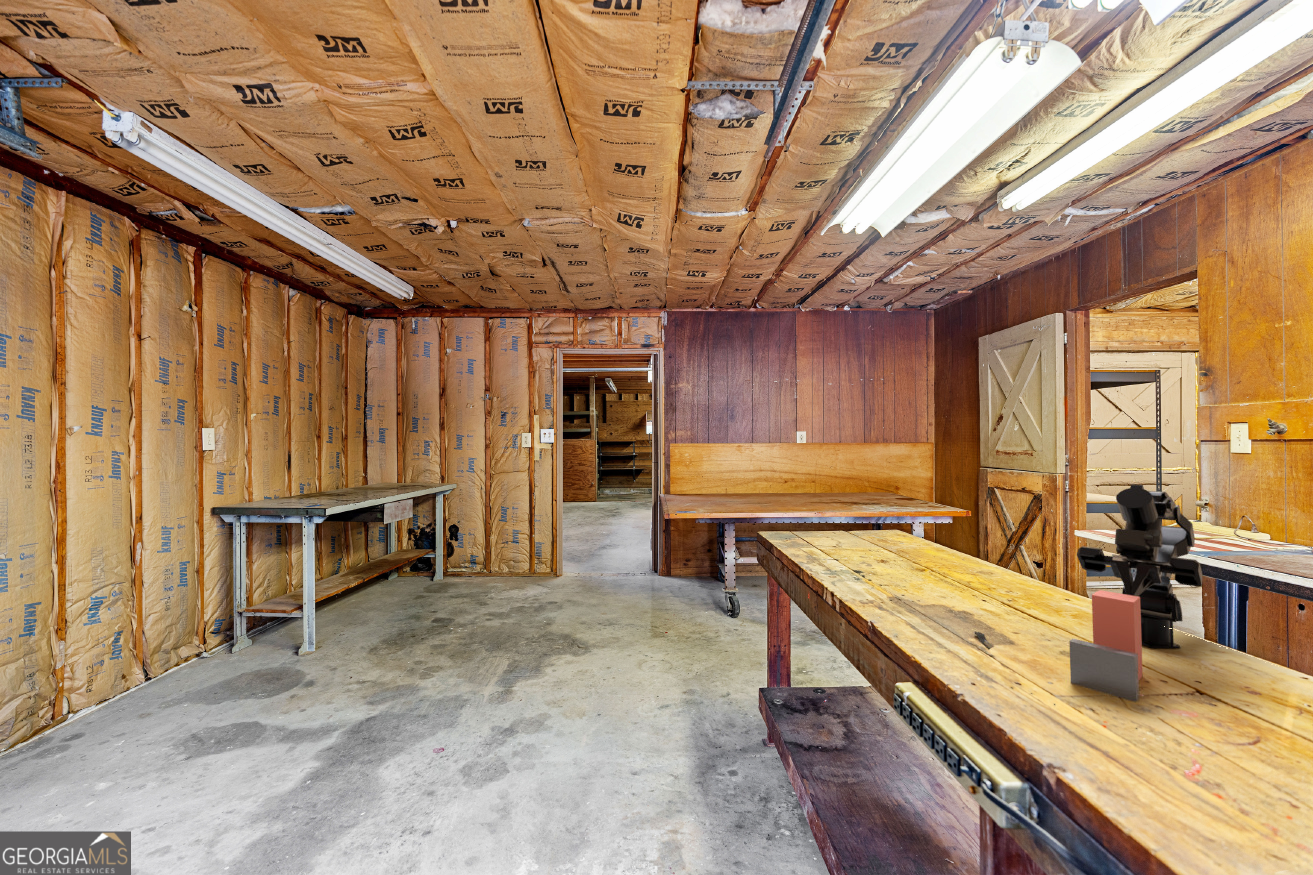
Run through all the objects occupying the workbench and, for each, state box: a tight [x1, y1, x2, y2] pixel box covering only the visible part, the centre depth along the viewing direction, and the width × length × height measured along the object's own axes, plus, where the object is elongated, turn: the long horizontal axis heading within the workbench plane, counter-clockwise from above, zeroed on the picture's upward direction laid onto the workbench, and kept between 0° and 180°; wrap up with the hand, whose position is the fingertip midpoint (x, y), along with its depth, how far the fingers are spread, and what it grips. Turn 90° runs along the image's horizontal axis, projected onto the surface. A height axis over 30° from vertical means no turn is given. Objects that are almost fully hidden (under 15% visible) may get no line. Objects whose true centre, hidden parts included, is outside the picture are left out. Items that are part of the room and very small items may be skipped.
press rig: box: [1068, 638, 1145, 703], centre depth 95 cm, size 14×10×9 cm
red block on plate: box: [1091, 589, 1144, 682], centre depth 97 cm, size 5×6×15 cm
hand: (1130, 599), depth 104 cm, fingers closed
